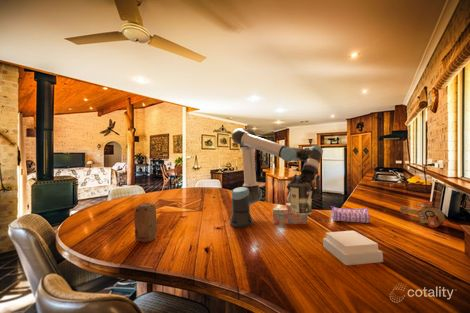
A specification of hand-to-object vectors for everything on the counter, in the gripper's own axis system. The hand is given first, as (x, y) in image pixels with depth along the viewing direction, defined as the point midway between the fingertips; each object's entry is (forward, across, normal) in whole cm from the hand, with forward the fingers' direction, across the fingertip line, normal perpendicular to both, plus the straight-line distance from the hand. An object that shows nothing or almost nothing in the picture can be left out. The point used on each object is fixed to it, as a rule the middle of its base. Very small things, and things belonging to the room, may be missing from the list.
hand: (297, 202), depth 93 cm
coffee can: (+2, 0, -6) cm, 6 cm away
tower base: (+10, -21, -19) cm, 30 cm away
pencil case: (-21, -10, -51) cm, 56 cm away
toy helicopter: (-38, -44, -68) cm, 89 cm away
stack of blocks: (-3, +19, -33) cm, 38 cm away
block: (+50, +66, +20) cm, 86 cm away
